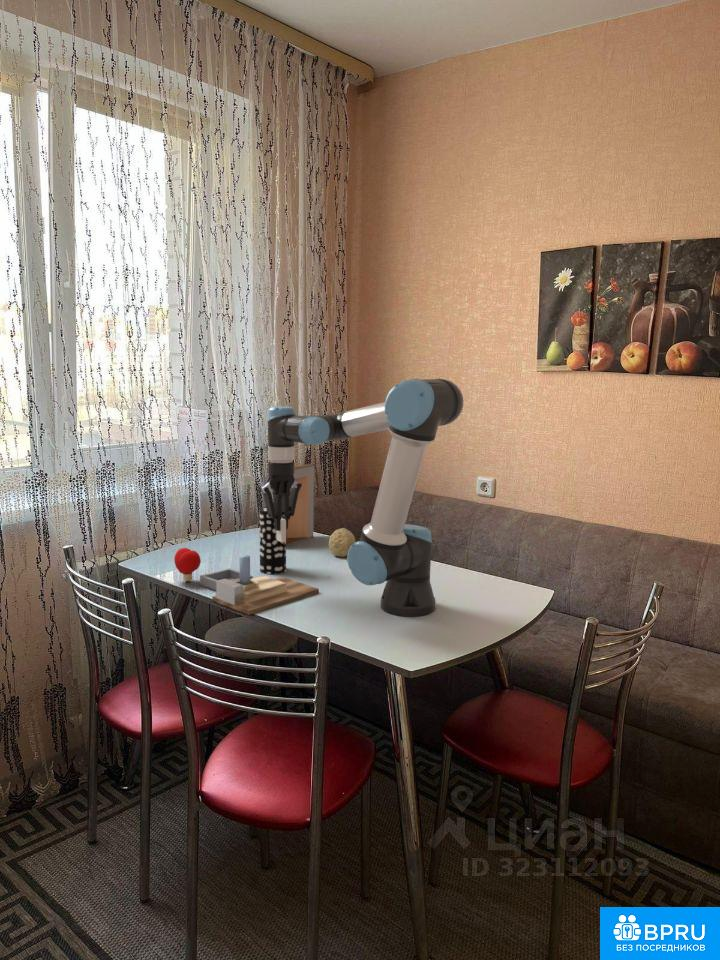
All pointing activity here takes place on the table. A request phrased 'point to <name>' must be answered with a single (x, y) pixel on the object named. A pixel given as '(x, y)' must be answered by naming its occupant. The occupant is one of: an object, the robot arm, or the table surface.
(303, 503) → the cabinet
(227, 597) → the block
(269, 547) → the spotted tube
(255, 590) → the wooden block with recess
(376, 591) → the table surface
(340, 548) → the coral
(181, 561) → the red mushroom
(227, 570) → the tray
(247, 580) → the dowel
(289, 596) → the board
